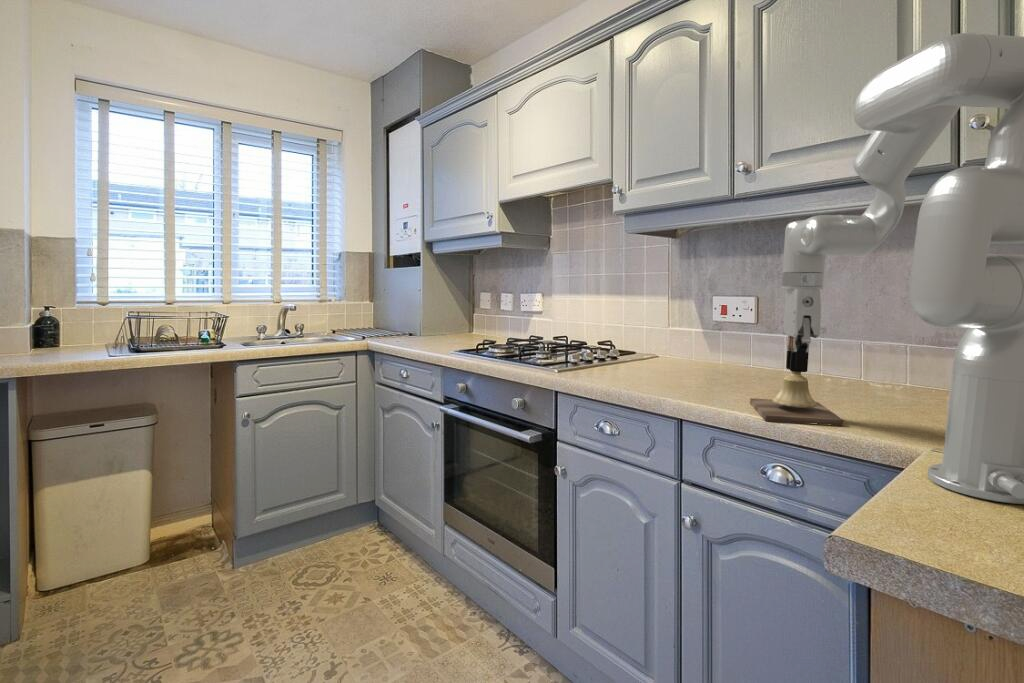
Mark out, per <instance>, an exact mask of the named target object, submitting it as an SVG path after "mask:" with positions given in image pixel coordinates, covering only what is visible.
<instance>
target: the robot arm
mask: <svg viewBox="0 0 1024 683" xmlns="http://www.w3.org/2000/svg"><path fill="white" fill-rule="evenodd" d="M961 107H967V108H969V107H970V108H971V107H972V108H978V107H979V108H994V109H996V108H997V109H998V108H999V109H1007V110H1006V112H1005V113H1003V115H1002V116H1001V117H1000V119H998V121H997V123H996V125H995V126H994V128H993V129H992V132H991V134H990V137H989V139H988V142H987V143H988V144H987V150H986V151H987V152H986V158H985V161H984V162H985V163H984V165H969V166H963V167H960V168H956V169H953V170H950V171H949V172H947V173H945V174H944V175H943V176H941V177H939V179H938V180H936V181H935V182H934V183H933V184H932V186H931V187H930V189H929V190H928V192H927V193H926V195H925V196H924V198H923V200H922V203H921V204H920V209H919V212H918V217H917V223H916V229H915V230H916V231H915V238H914V245H913V252H912V260H911V266H910V267H911V269H910V275H909V283H908V297H909V302H910V305H911V308H912V311H913V312H914V314H915V315H916V317H918V318H919V320H920V321H923V322H925V323H926V324H928V325H931V326H935V327H939V328H940V327H941V328H957V329H958V328H966V330H965V332H964V334H963V335H962V337H961V339H960V341H959V343H958V345H957V347H956V349H955V352H954V356H953V361H952V369H951V377H950V387H949V396H948V406H947V414H946V415H947V416H946V423H945V424H946V425H945V435H944V445H943V453H942V454H943V456H942V462H941V463H937V464H933V465H931V466H929V467H927V477H928V479H929V480H930V481H931V482H933V483H935V484H936V485H938V486H940V487H942V488H945V489H948V490H950V491H953V492H955V493H959V494H962V495H966V496H970V497H974V498H977V499H982V500H987V501H993V502H998V503H1006V504H1014V505H1015V504H1017V505H1024V255H1023V254H1006V253H1005V254H1002V253H1001V254H995V253H993V254H992V253H989V251H990V245H991V244H992V245H993V244H994V245H995V244H997V245H1009V244H1010V245H1013V244H1014V245H1016V244H1018V245H1019V244H1024V36H1018V35H1001V34H1000V35H999V34H989V33H987V34H986V33H976V32H975V33H971V32H962V33H954V34H950V35H947V36H944V37H941V38H939V39H937V40H935V41H932V42H930V43H929V44H927V45H924V47H921V48H919V49H917V50H916V51H914V52H912V53H911V54H908V55H907V56H904V57H903V58H901V59H899V60H897V61H895V62H894V63H892V64H890V65H888V66H887V67H886V68H883V69H882V70H881V71H879V72H878V73H876V74H875V75H874V76H873V77H872V78H871V79H869V80H868V81H867V83H866V84H865V85H864V86H863V88H862V89H861V90H860V91H859V94H858V96H857V97H856V100H855V102H854V104H853V110H852V111H853V113H852V115H853V120H854V122H855V124H856V125H857V126H858V127H859V128H861V129H862V130H866V131H872V132H871V134H870V135H869V137H868V139H867V140H866V142H865V143H864V144H863V145H862V147H861V149H860V150H859V151H858V153H857V155H856V156H855V158H854V160H853V169H854V171H855V173H856V174H857V175H858V176H859V178H861V180H863V181H864V182H866V183H868V184H869V185H871V186H872V187H874V188H876V193H875V196H874V198H873V199H872V201H871V203H870V204H869V205H868V207H867V208H866V209H865V211H864V212H863V213H862V214H860V215H853V214H852V215H851V214H850V215H846V214H845V215H844V214H843V215H842V214H819V215H813V216H811V217H809V218H807V219H800V220H793V221H791V222H789V223H788V224H787V225H786V226H785V231H784V245H783V246H784V247H783V261H782V262H783V263H782V264H783V265H782V275H781V276H782V278H781V280H782V281H781V289H782V290H783V289H786V291H785V298H784V309H783V322H782V324H783V325H782V327H783V333H784V334H785V335H787V351H786V363H785V365H786V366H785V368H786V370H789V371H790V372H791V373H792V372H801V373H807V372H808V369H809V368H808V367H809V352H810V345H811V338H814V339H818V338H819V337H820V336H821V324H822V323H821V319H822V318H821V316H822V315H821V314H822V311H821V310H822V309H821V307H822V304H821V299H822V298H821V290H824V279H825V278H824V277H825V265H826V256H831V257H832V256H833V257H834V256H847V257H848V256H852V257H855V256H864V255H867V254H870V253H871V252H873V251H875V250H876V249H877V248H878V247H879V246H880V245H882V243H883V242H884V241H885V240H886V239H887V237H888V236H889V235H890V234H891V233H892V232H893V230H894V229H895V228H896V227H897V225H898V224H899V221H900V220H901V218H902V215H903V213H904V208H905V203H906V196H907V194H906V187H905V181H906V180H907V178H908V176H909V175H910V174H911V173H912V172H913V171H914V169H915V167H917V165H918V164H919V162H920V161H921V160H922V158H924V156H925V154H926V153H928V151H929V149H930V148H931V147H932V145H934V143H935V141H937V139H938V138H939V137H940V135H941V133H942V132H943V131H944V130H945V129H946V127H948V125H949V124H950V122H951V120H953V119H954V117H955V116H956V114H957V113H958V111H959V109H960V108H961ZM798 330H799V332H798ZM798 335H802V337H797V336H798ZM791 337H794V338H793V352H791ZM798 340H799V341H798ZM797 343H798V344H797Z"/></svg>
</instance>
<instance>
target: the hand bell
mask: <svg viewBox="0 0 1024 683" xmlns="http://www.w3.org/2000/svg"><path fill="white" fill-rule="evenodd" d="M798 332H799V330H798ZM797 337H802V335H798V336H797ZM793 338H794V337H791V352H793ZM798 341H799V340H798ZM797 344H798V343H797ZM782 382H783V383H782V385H781V388H780V390H779V392H778V394H777V395H776V396H775V397H773V398H772V399H771V400H772V401H773V402H774V403H776V404H780V405H784V406H790V407H800V408H808V407H815V406H816V405H817V404H816V402H817V401H815V399H813V397H812V396H811V393H810V389H809V380H808V378H807V377H805V376H803V375H802V372H792V371H791V373H790V374H789V375H786V376H784V378H783V381H782Z"/></svg>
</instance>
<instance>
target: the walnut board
mask: <svg viewBox="0 0 1024 683" xmlns="http://www.w3.org/2000/svg"><path fill="white" fill-rule="evenodd" d="M772 400H773V399H769V398H768V399H767V398H752V397H751V398H750V399H749V404H750V406H751V407H752V408H753V409H754V410H755V411H756V413H757V414H759V416H760V417H761V418H762V420H763V421H765V422H770V423H771V422H772V423H787V424H788V423H789V424H801V423H817V424H831V425H830V426H833V425H843V426H844V419H842V418H841V417H840V416H838V415H837V414H835V413H834V412H833V411H831V410H830V409H828V408H827V407H825V406H824V405H823V404H822V403H820V402H819V401H815V402H816V404H817V405H816V406H815V407H808V408H800V407H790V406H784V405H780V404H776V403H774V402H773V401H772ZM817 424H816V425H817Z"/></svg>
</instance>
